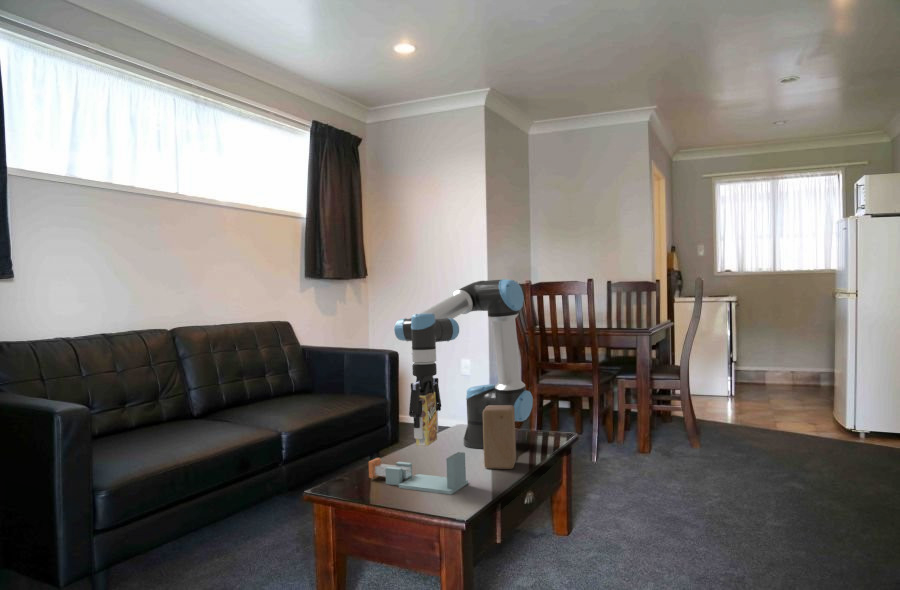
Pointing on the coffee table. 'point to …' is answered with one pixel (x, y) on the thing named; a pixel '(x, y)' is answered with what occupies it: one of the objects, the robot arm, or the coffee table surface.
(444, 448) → the coffee table surface
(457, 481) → the press
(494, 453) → the wooden block
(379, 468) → the ram
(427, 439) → the candy box
